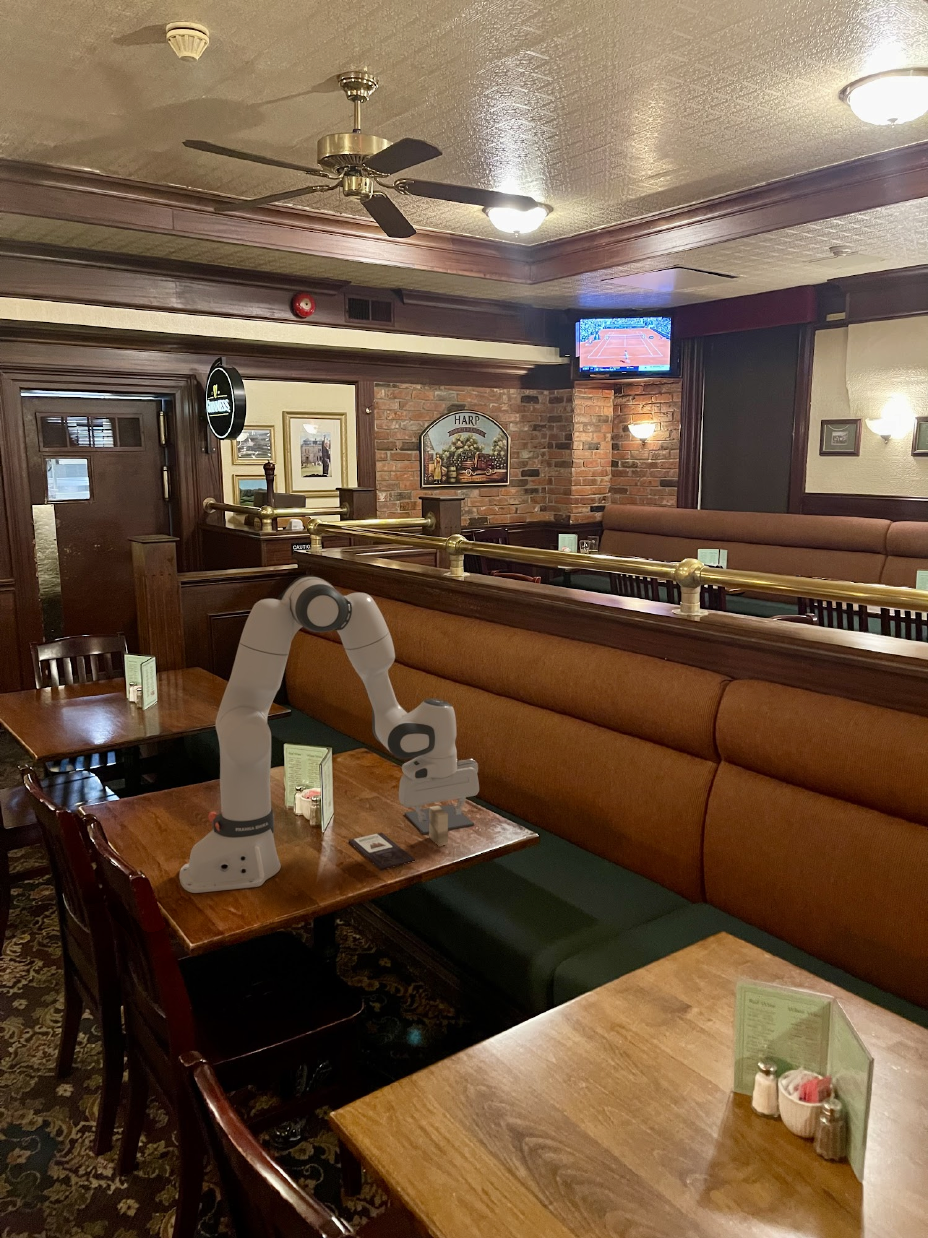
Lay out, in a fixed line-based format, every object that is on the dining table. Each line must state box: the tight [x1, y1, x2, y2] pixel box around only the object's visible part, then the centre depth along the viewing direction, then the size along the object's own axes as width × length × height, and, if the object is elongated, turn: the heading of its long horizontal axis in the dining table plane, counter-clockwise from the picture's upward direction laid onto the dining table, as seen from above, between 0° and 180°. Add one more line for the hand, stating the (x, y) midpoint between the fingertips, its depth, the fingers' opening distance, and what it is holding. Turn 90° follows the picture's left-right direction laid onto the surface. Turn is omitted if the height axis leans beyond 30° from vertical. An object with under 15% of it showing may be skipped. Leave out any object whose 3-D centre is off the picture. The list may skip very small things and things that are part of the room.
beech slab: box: [428, 805, 449, 847], centre depth 226 cm, size 6×2×8 cm, turn 24°
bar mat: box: [404, 804, 475, 835], centre depth 240 cm, size 14×14×1 cm
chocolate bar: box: [348, 832, 416, 871], centre depth 221 cm, size 9×1×18 cm
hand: (440, 817), depth 226 cm, fingers open, 8 cm apart
